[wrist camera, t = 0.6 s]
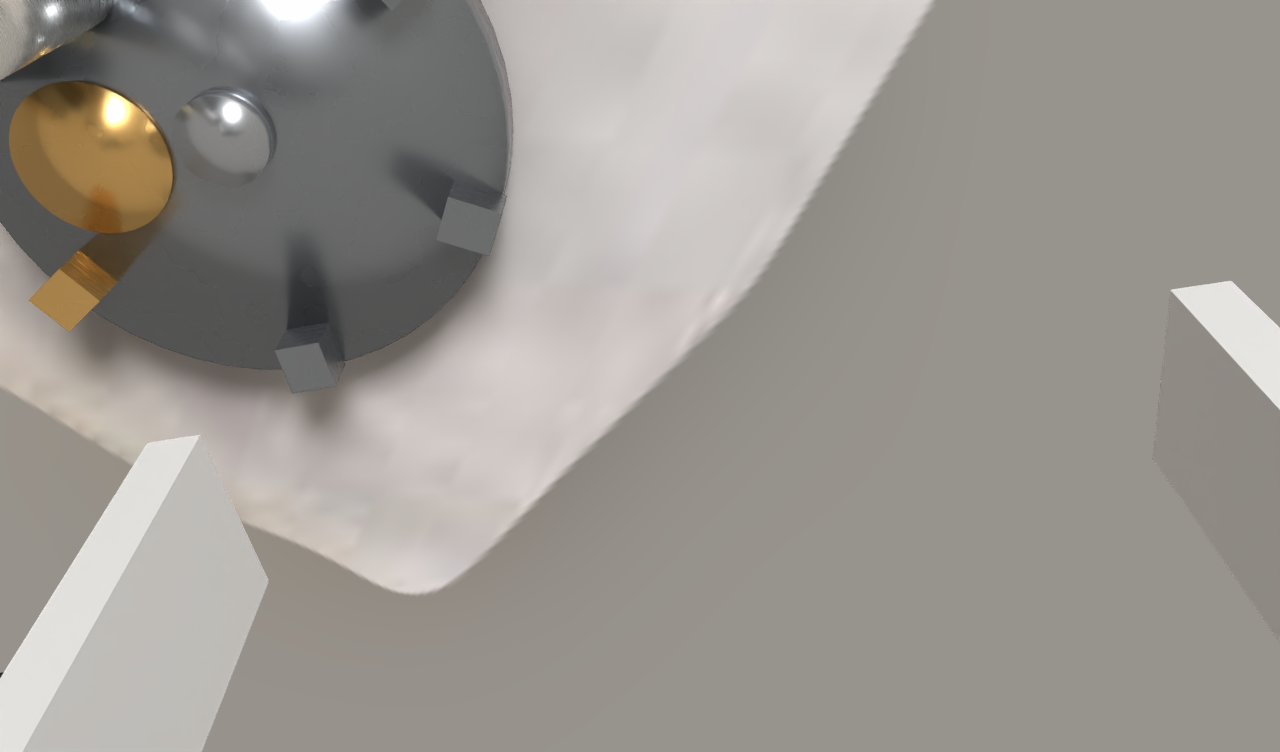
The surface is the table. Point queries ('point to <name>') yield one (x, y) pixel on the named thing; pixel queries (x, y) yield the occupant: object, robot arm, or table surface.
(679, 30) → the table surface
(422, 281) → the dark grey round base
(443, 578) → the table surface
